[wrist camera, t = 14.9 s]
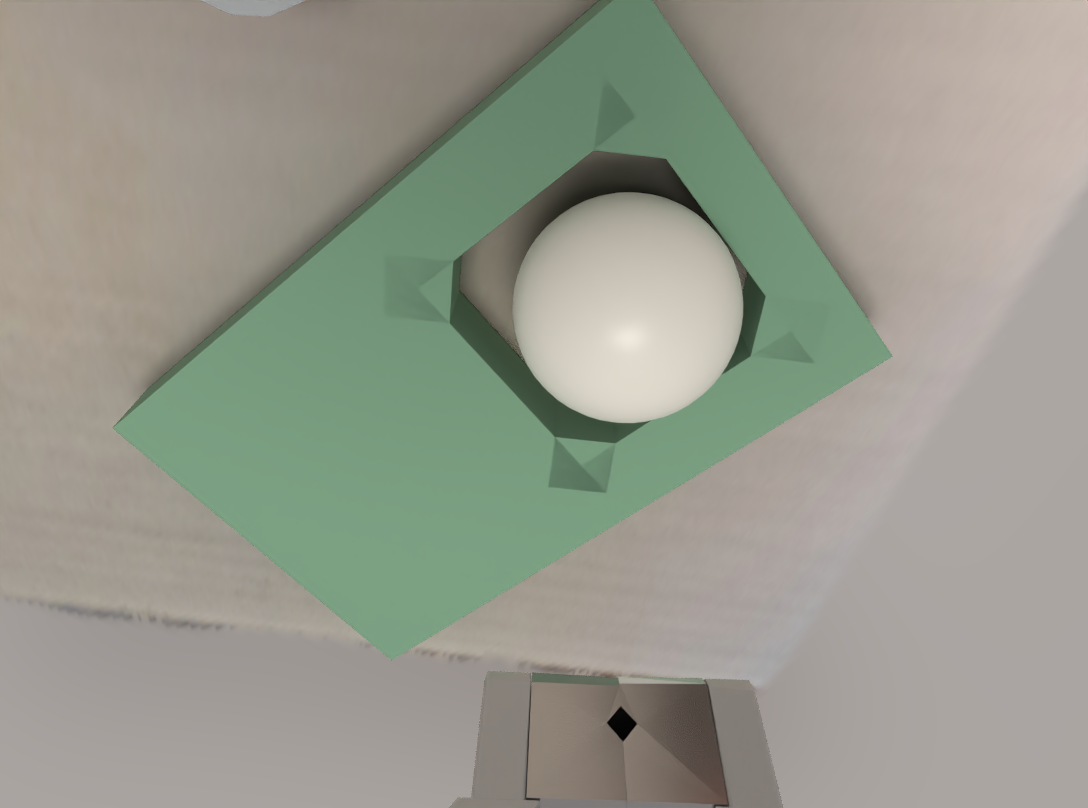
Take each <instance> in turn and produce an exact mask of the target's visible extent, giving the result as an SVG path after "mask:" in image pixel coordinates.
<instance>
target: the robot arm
mask: <svg viewBox="0 0 1088 808" xmlns="http://www.w3.org/2000/svg"><path fill="white" fill-rule="evenodd" d="M449 808H783V804H782V800H781V796H780V792H779V788H778V784H777V780H776V776H775V772H774V767H773V764H772V760H771V756H770V751H769V747H768V743H767V739H766V735H765V730H764V727H763V723H762V718H761V714H760V710H759V706H758V702H757V698H756V694H755V689H754V687H753V685H752V684H751V683H750V681H749V680H728V679H705V680H703V679H702V678H662V677H618V676H617V678H616V677H599V676H582V675H566V674H549V673H532V686H531V673H520V672H502V671H488V672H487V675H486V678H485V681H484V688H483V698H482V706H481V715H480V724H479V733H478V742H477V751H476V760H475V769H474V778H473V787H472V796H471V798H457V799H456V800H455V802H454V803H453V804H452V805H451V806H450V807H449Z"/></svg>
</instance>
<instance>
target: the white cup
mask: <svg viewBox="0 0 1088 808" xmlns="http://www.w3.org/2000/svg"><path fill="white" fill-rule="evenodd" d="M200 1H203V2H205V3H207V4H209V5H211V6H213V7H216V8H218V9H220V10H222V11H224V12H226V13H228V14H231V15H245V16H271V15H274V14H276V13H278V12H280V11H283V10H285V9H287V8H290V7H292V6H294V5H297V4H299V3H301V2H303V1H304V0H200Z"/></svg>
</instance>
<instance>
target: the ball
mask: <svg viewBox="0 0 1088 808" xmlns="http://www.w3.org/2000/svg"><path fill="white" fill-rule="evenodd" d="M512 309H513V324H514V329H515V335H516V338H517V342H518V345H519V348H520V351H521V353H522V355H523V357H524V360H525V362H526V364H527V366H528V367H529V369H530V370H531V372H532V373H533V375H534V377H535V378H536V379H537V380H538V381H539V383H540V384H541V385H542V386H543V387H544V388H545V389H546V390H547V391H548V392H549V393H550V394H551V395H552V396H554V397H555V398H556V399H557V400H558V401H560V402H561V403H563V404H564V405H566V406H567V407H569V408H571V409H573V410H575V411H577V412H579V413H581V414H583V415H586V416H588V417H591V418H595V419H598V420H602V421H609V422H616V423H638V422H646V421H650V420H654V419H658V418H662V417H665V416H668V415H670V414H673V413H675V412H677V411H679V410H681V409H683V408H685V407H686V406H688V405H690V404H691V403H692V402H694V401H695V400H696V399H698V398H699V397H701V396H702V395H703V394H704V393H705V392H706V391H707V390H708V389H709V388H710V387H711V386H712V385H713V384H714V383H715V382H716V381H717V379H718V378H719V377H720V376H721V374H722V373H723V371H724V370H725V368H726V367H727V365H728V363H729V361H730V359H731V357H732V355H733V353H734V351H735V348H736V345H737V343H738V340H739V336H740V332H741V327H742V320H743V293H742V286H741V282H740V277H739V274H738V271H737V268H736V265H735V263H734V260H733V258H732V256H731V254H730V252H729V250H728V248H727V246H726V245H725V243H724V242H723V241H722V239H721V238H720V236H719V235H718V234H717V233H716V232H715V231H714V230H713V229H712V227H711V226H710V225H709V224H708V223H707V222H706V221H705V220H703V219H702V218H701V217H700V216H699V215H697V214H696V213H695V212H693V211H691V210H690V209H688V208H686V207H685V206H683V205H681V204H679V203H677V202H674V201H672V200H670V199H667V198H664V197H661V196H657V195H653V194H646V193H637V192H618V193H612V194H607V195H602V196H597V197H594V198H591V199H588V200H585V201H583V202H581V203H579V204H577V205H575V206H573V207H571V208H570V209H568V210H567V211H565V212H564V213H562V214H561V215H559V216H558V217H557V218H556V219H554V220H553V221H552V222H551V223H550V224H549V225H548V226H547V227H545V229H544V230H543V231H542V232H541V233H540V234H539V236H538V237H537V238H536V239H535V241H534V242H533V244H532V245H531V247H530V248H529V250H528V252H527V254H526V256H525V258H524V260H523V262H522V264H521V267H520V269H519V272H518V275H517V278H516V283H515V288H514V293H513V305H512Z"/></svg>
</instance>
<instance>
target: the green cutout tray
mask: <svg viewBox="0 0 1088 808" xmlns="http://www.w3.org/2000/svg"><path fill="white" fill-rule="evenodd" d="M593 150H596V151H604V152H613V153H621V154H630V155H639V156H647V157H656V158H664V159H666V160H667V161H668V162H669V164H670V165H671V166H672V168H673V169H674V171H675V172H676V173H677V175H678V176H679V177H680V179H681V180H682V182H683V183H684V184H685V186H686V187H687V188H688V190H689V191H690V193H691V194H692V195H693V197H694V198H695V199H696V201H697V202H698V204H699V205H700V206H701V208H702V209H703V210H704V212H705V213H706V215H707V216H708V217H709V219H710V220H711V222H712V223H713V224H714V226H715V227H716V228H717V230H718V231H719V233H720V234H721V235H722V237H723V238H724V239H725V241H726V242H727V244H728V245H729V246H730V248H731V249H732V250H733V252H734V253H735V255H736V256H737V257H738V259H739V260H740V261H741V263H742V264H743V266H744V267H745V268H746V270H747V271H748V274H747V278H746V282H745V286H744V290H743V320H742V327H741V332H740V336H739V340H738V343H737V345H736V348H735V351H734V353H733V355H732V357H731V359H730V361H729V363H728V365H727V367H726V368H725V370H724V371H723V373H722V374H721V376H720V377H719V378H718V379H717V381H716V382H715V383H714V384H713V385H712V386H711V387H710V388H709V389H708V390H707V391H706V392H705V393H704V394H703V395H702V396H701V397H699V398H698V399H696V400H695V401H694V402H692V403H691V404H690V405H688V406H686V407H685V408H683V409H681V410H679V411H677V412H675V413H673V414H670V415H668V416H665V417H662V418H658V419H654V420H650V421H646V422H638V423H616V422H609V421H602V420H598V419H595V418H591V417H588V416H586V415H583V414H581V413H579V412H577V411H575V410H573V409H571V408H569V407H567V406H566V405H564V404H563V403H561V402H560V401H558V400H557V399H556V398H555V397H554V396H552V395H551V394H550V393H549V392H548V391H547V390H546V389H545V388H544V387H543V386H542V385H541V384H540V383H539V381H538V380H537V379H536V378H535V377H534V375H533V373H532V372H531V370H530V369H529V367H528V366H527V365H526V364H525V362H524V361H523V360H522V359H521V358H520V357H519V356H518V355H517V354H516V352H515V351H514V350H513V349H512V348H511V347H510V346H509V345H508V344H507V343H506V341H505V340H504V339H503V338H502V337H501V336H500V335H499V334H498V333H497V331H496V330H495V329H494V328H493V327H492V326H491V325H490V324H489V323H488V321H487V320H486V319H485V318H484V317H483V316H482V315H481V314H480V313H479V311H478V310H477V309H476V308H475V307H474V306H473V305H472V304H471V303H470V302H469V300H468V299H467V298H466V297H465V296H464V295H463V294H462V293H461V292H460V290H459V287H460V271H461V255H462V254H463V253H464V252H466V251H467V250H468V249H470V248H471V247H472V246H473V245H475V244H476V243H477V242H478V241H480V240H481V239H482V238H483V237H485V236H486V235H487V234H488V233H490V232H491V231H492V230H494V229H495V228H496V227H497V226H499V225H500V224H501V223H502V222H504V221H505V220H506V219H507V218H509V217H510V216H511V215H512V214H514V213H515V212H516V211H518V210H519V209H520V208H521V207H523V206H524V205H525V204H526V203H528V202H529V201H530V200H531V199H533V198H534V197H535V196H536V195H538V194H539V193H540V192H542V191H543V190H544V189H545V188H547V187H548V186H549V185H550V184H552V183H553V182H554V181H555V180H557V179H558V178H559V177H560V176H562V175H563V174H564V173H566V172H567V171H568V170H569V169H571V168H572V167H573V166H574V165H576V164H577V163H578V162H579V161H581V160H582V159H583V158H585V157H586V156H587V155H588V154H590V153H591V152H592V151H593ZM891 357H892V354H891V353H890V351H889V350H888V348H887V347H886V345H885V344H884V342H883V341H882V340H881V338H880V337H879V335H878V334H877V332H876V331H875V329H874V328H873V326H872V325H871V323H870V322H869V320H868V319H867V317H866V316H865V314H864V313H863V311H862V310H861V308H860V307H859V305H858V304H857V302H856V301H855V300H854V298H853V297H852V295H851V294H850V292H849V291H848V289H847V288H846V286H845V285H844V283H843V282H842V280H841V279H840V277H839V276H838V274H837V273H836V271H835V270H834V268H833V267H832V265H831V264H830V262H829V261H828V260H827V258H826V257H825V255H824V254H823V252H822V251H821V249H820V248H819V246H818V245H817V243H816V242H815V240H814V239H813V237H812V236H811V234H810V233H809V231H808V230H807V228H806V227H805V225H804V224H803V223H802V221H801V220H800V218H799V217H798V215H797V214H796V212H795V211H794V209H793V208H792V206H791V205H790V203H789V202H788V200H787V199H786V197H785V196H784V194H783V193H782V191H781V190H780V188H779V187H778V185H777V184H776V183H775V181H774V180H773V178H772V177H771V175H770V174H769V172H768V171H767V169H766V168H765V166H764V165H763V163H762V162H761V160H760V159H759V157H758V156H757V154H756V153H755V151H754V150H753V148H752V147H751V145H750V144H749V143H748V141H747V140H746V138H745V137H744V135H743V134H742V132H741V131H740V129H739V128H738V126H737V125H736V123H735V122H734V120H733V119H732V117H731V116H730V114H729V113H728V111H727V110H726V108H725V107H724V106H723V104H722V103H721V101H720V100H719V98H718V97H717V95H716V94H715V92H714V91H713V89H712V88H711V86H710V85H709V83H708V82H707V80H706V79H705V77H704V76H703V74H702V73H701V71H700V70H699V68H698V67H697V66H696V64H695V63H694V61H693V60H692V58H691V57H690V55H689V54H688V52H687V51H686V49H685V48H684V46H683V45H682V43H681V42H680V40H679V39H678V37H677V36H676V34H675V33H674V31H673V30H672V28H671V27H670V26H669V24H668V23H667V21H666V20H665V18H664V17H663V15H662V14H661V12H660V11H659V9H658V8H657V6H656V5H655V3H654V2H653V0H599V1H598V2H597V3H596V4H595V5H593V6H592V7H591V8H590V9H589V10H588V11H586V12H585V13H584V14H583V15H582V16H581V17H579V18H578V19H577V20H576V21H575V22H574V23H572V24H571V25H570V26H569V27H568V28H567V29H565V30H564V31H563V32H562V33H561V34H560V35H558V36H557V37H556V38H555V39H554V40H553V41H552V42H550V43H549V44H548V45H547V46H546V47H545V48H543V49H542V50H541V51H540V52H539V53H538V54H536V55H535V56H534V57H533V58H532V59H531V60H529V61H528V62H527V63H526V64H525V65H524V66H522V67H521V68H520V69H519V70H518V71H517V72H515V73H514V74H513V75H512V76H511V77H510V78H508V79H507V80H506V81H505V82H504V83H503V84H502V85H500V86H499V87H498V88H497V89H496V90H495V91H493V92H492V93H491V94H490V95H489V96H488V97H486V98H485V99H484V100H483V101H482V102H481V103H479V104H478V105H477V106H476V107H475V108H474V109H472V110H471V111H470V112H469V113H468V114H467V115H465V116H464V117H463V118H462V119H461V120H460V121H459V122H457V123H456V124H455V125H454V126H453V127H452V128H450V129H449V130H448V131H447V132H446V133H445V134H443V135H442V136H441V137H440V138H439V139H438V140H436V141H435V142H434V143H433V144H432V145H431V146H429V147H428V148H427V149H426V150H425V151H424V152H422V153H421V154H420V155H419V156H418V157H417V158H416V159H414V160H413V161H412V162H411V163H410V164H409V165H407V166H406V167H405V168H404V169H403V170H402V171H400V172H399V173H398V174H397V175H396V176H395V177H393V178H392V179H391V180H390V181H389V182H388V183H386V184H385V185H384V186H383V187H382V188H381V189H379V190H378V191H377V192H376V193H375V194H374V195H372V196H371V197H370V198H369V199H368V200H367V201H366V202H364V203H363V204H362V205H361V206H360V207H359V208H357V209H356V210H355V211H354V212H353V213H352V214H350V215H349V216H348V217H347V218H346V219H345V220H343V221H342V222H341V223H340V224H339V225H338V226H336V227H335V228H334V229H333V230H332V231H331V232H329V233H328V234H327V235H326V236H325V237H324V238H323V239H321V240H320V241H319V242H318V243H317V244H316V245H314V246H313V247H312V248H311V249H310V250H309V251H307V252H306V253H305V254H304V255H303V256H302V257H300V258H299V259H298V260H297V261H296V262H295V263H293V264H292V265H291V266H290V267H289V268H288V269H286V270H285V271H284V272H283V273H282V274H281V275H279V276H278V277H277V278H276V279H275V280H274V281H273V282H271V283H270V284H269V285H268V286H267V287H266V288H264V289H263V290H262V291H261V292H260V293H259V294H257V295H256V296H255V297H254V298H253V299H252V300H250V301H249V302H248V303H247V304H246V305H245V306H243V307H242V308H241V309H240V310H239V311H238V312H236V313H235V314H234V315H233V316H232V317H231V318H230V319H228V320H227V321H226V322H225V323H224V324H223V325H221V326H220V327H219V328H218V329H217V330H216V331H214V332H213V333H212V334H211V335H210V336H209V337H207V338H206V339H205V340H204V341H203V342H202V343H200V344H199V345H198V346H197V347H196V348H195V349H193V350H192V351H191V352H190V353H189V354H188V355H187V356H185V357H184V358H183V359H182V360H181V361H180V362H178V363H177V364H176V365H175V366H174V367H173V368H171V369H170V370H169V371H168V372H167V373H166V374H164V375H163V376H162V377H161V378H160V379H159V380H157V381H156V382H155V383H154V384H153V385H152V386H150V387H149V388H148V389H147V390H146V391H145V392H144V393H143V395H142V396H141V397H140V398H139V399H138V400H137V401H136V402H135V403H134V405H133V406H132V407H131V408H130V409H129V410H128V411H127V412H126V414H125V415H124V416H123V417H122V418H121V419H120V420H119V421H118V423H117V424H116V425H115V426H114V427H113V429H114V430H115V431H116V432H118V433H119V434H120V435H121V436H122V437H124V438H125V439H126V440H127V441H128V442H130V443H131V444H132V445H133V446H134V447H136V448H137V449H138V450H139V451H140V452H142V453H143V454H144V455H145V456H146V457H148V458H149V459H150V460H151V461H152V462H154V463H155V464H156V465H157V466H158V467H160V468H161V469H162V470H163V471H164V472H166V473H167V474H168V475H169V476H170V477H172V478H173V479H174V480H175V481H176V482H178V483H179V484H180V485H181V486H182V487H184V488H185V489H186V490H187V491H188V492H190V493H191V494H192V495H193V496H194V497H196V498H197V499H198V500H199V501H201V502H202V503H203V504H204V505H205V506H207V507H208V508H209V509H210V510H211V511H213V512H214V513H215V514H216V515H217V516H219V517H220V518H221V519H222V520H223V521H225V522H226V523H227V524H228V525H229V526H231V527H232V528H233V529H234V530H235V531H237V532H238V533H239V534H240V535H241V536H243V537H244V538H245V539H246V540H247V541H249V542H250V543H251V544H252V545H253V546H255V547H256V548H257V549H258V550H259V551H261V552H262V553H263V554H264V555H265V556H267V557H268V558H269V559H270V560H271V561H273V562H274V563H275V564H276V565H277V566H279V567H280V568H281V569H282V570H284V571H285V572H286V573H287V574H288V575H290V576H291V577H292V578H293V579H294V580H296V581H297V582H298V583H299V584H300V585H302V586H303V587H304V588H305V589H306V590H308V591H309V592H310V593H311V594H312V595H314V596H315V597H316V598H317V599H318V600H320V601H321V602H322V603H323V604H324V605H326V606H327V607H328V608H329V609H330V610H332V611H333V612H334V613H335V614H336V615H338V616H339V617H340V618H341V619H342V620H344V621H345V622H346V623H347V624H348V625H350V626H351V627H352V628H353V629H354V630H356V631H357V632H358V633H359V634H361V635H362V636H363V637H364V638H365V639H367V640H368V641H369V642H370V643H371V644H373V645H374V646H375V647H376V648H377V649H379V650H380V651H381V652H382V653H383V654H385V655H386V656H387V657H388V658H389V659H391V660H393V659H395V658H396V657H398V656H400V655H401V654H403V653H404V652H406V651H408V650H409V649H411V648H413V647H414V646H416V645H418V644H419V643H421V642H423V641H424V640H426V639H428V638H429V637H431V636H433V635H434V634H436V633H437V632H439V631H441V630H442V629H444V628H446V627H447V626H449V625H451V624H452V623H454V622H456V621H457V620H459V619H461V618H462V617H464V616H465V615H467V614H469V613H470V612H472V611H474V610H475V609H477V608H479V607H480V606H482V605H484V604H485V603H487V602H489V601H490V600H492V599H493V598H495V597H497V596H498V595H500V594H502V593H503V592H505V591H507V590H508V589H510V588H512V587H513V586H515V585H517V584H518V583H520V582H521V581H523V580H525V579H526V578H528V577H530V576H531V575H533V574H535V573H536V572H538V571H540V570H541V569H543V568H545V567H546V566H548V565H550V564H551V563H553V562H554V561H556V560H558V559H559V558H561V557H563V556H564V555H566V554H568V553H569V552H571V551H573V550H574V549H576V548H578V547H579V546H581V545H582V544H584V543H586V542H587V541H589V540H591V539H592V538H594V537H596V536H597V535H599V534H601V533H602V532H604V531H606V530H607V529H609V528H610V527H612V526H614V525H615V524H617V523H619V522H620V521H622V520H624V519H625V518H627V517H629V516H630V515H632V514H634V513H635V512H637V511H639V510H640V509H642V508H643V507H645V506H647V505H648V504H650V503H652V502H653V501H655V500H657V499H658V498H660V497H662V496H663V495H665V494H667V493H668V492H670V491H671V490H673V489H675V488H676V487H678V486H680V485H681V484H683V483H685V482H686V481H688V480H690V479H691V478H693V477H695V476H696V475H698V474H699V473H701V472H703V471H704V470H706V469H708V468H709V467H711V466H713V465H714V464H716V463H718V462H719V461H721V460H723V459H724V458H726V457H727V456H729V455H731V454H732V453H734V452H736V451H737V450H739V449H741V448H742V447H744V446H746V445H747V444H749V443H751V442H752V441H754V440H756V439H757V438H759V437H760V436H762V435H764V434H765V433H767V432H769V431H770V430H772V429H774V428H775V427H777V426H779V425H780V424H782V423H784V422H785V421H787V420H788V419H790V418H792V417H793V416H795V415H797V414H798V413H800V412H802V411H803V410H805V409H807V408H808V407H810V406H812V405H813V404H815V403H816V402H818V401H820V400H821V399H823V398H825V397H826V396H828V395H830V394H831V393H833V392H835V391H836V390H838V389H840V388H841V387H843V386H844V385H846V384H848V383H849V382H851V381H853V380H854V379H856V378H858V377H859V376H861V375H863V374H864V373H866V372H868V371H869V370H871V369H873V368H874V367H876V366H877V365H879V364H881V363H882V362H884V361H886V360H887V359H889V358H891Z"/></svg>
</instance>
